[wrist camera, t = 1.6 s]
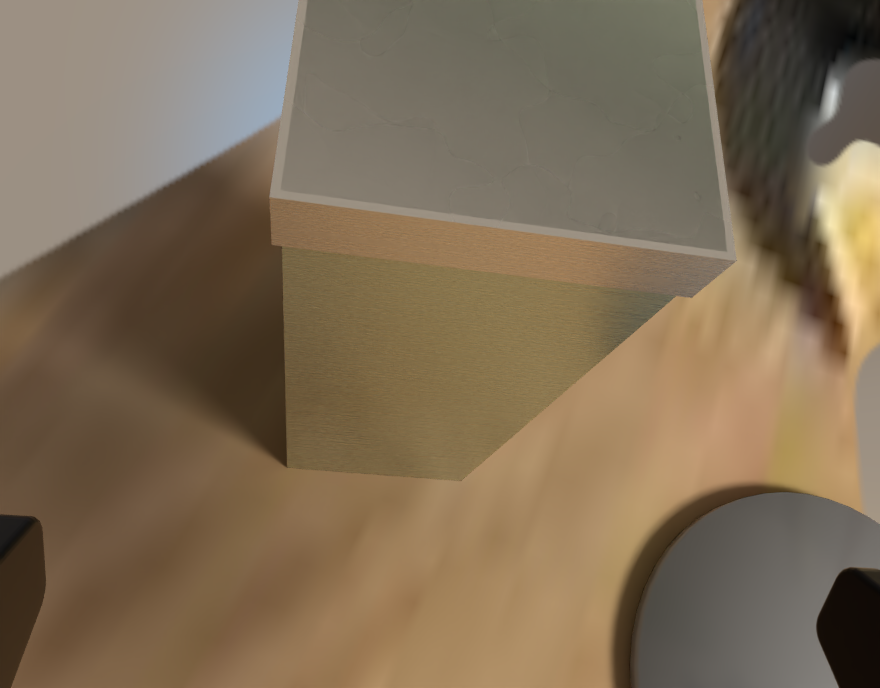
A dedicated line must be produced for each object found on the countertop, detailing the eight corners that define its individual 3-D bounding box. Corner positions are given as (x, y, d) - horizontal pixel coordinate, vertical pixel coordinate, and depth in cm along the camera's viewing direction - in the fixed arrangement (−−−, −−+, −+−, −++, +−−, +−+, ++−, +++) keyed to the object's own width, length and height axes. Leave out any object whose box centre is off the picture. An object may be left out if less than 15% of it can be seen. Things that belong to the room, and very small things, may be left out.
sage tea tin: (464, 484, 21) (736, 260, 8) (283, 470, 20) (269, 196, 7) (468, 321, 23) (693, -66, 10) (303, 302, 22) (320, -146, 9)
